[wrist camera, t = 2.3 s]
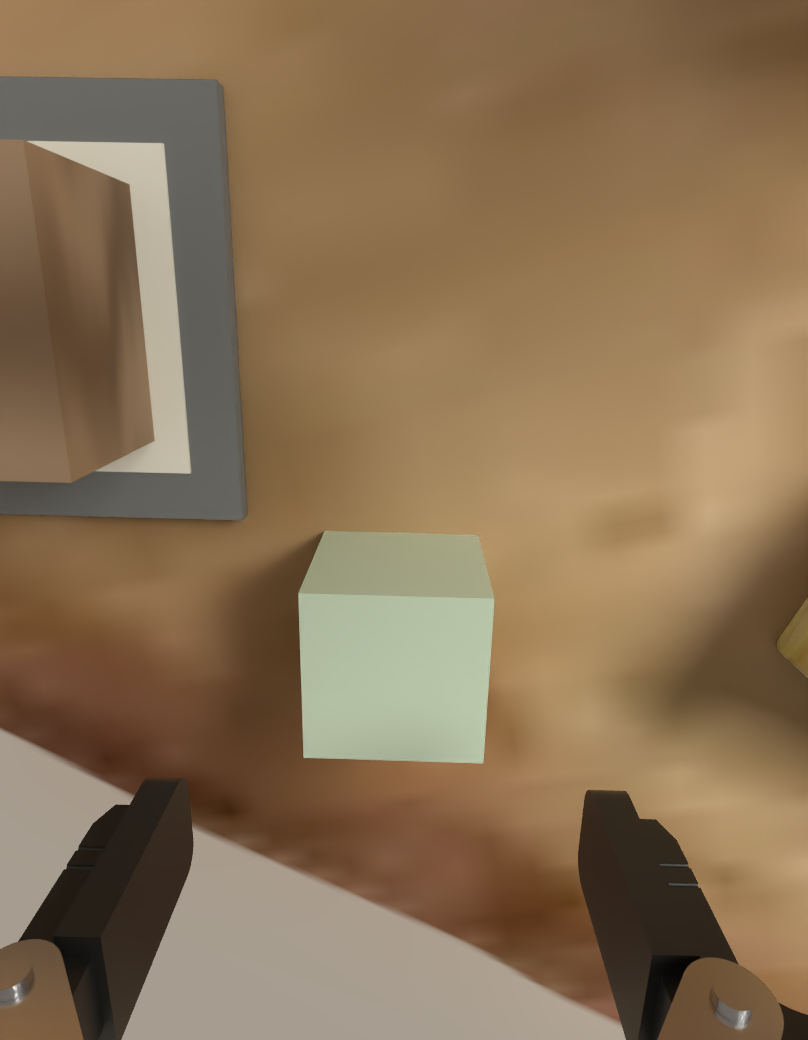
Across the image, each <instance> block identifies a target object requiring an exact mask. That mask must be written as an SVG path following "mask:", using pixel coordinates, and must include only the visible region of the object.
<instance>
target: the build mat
mask: <svg viewBox="0 0 808 1040" xmlns="http://www.w3.org/2000/svg"><path fill="white" fill-rule="evenodd" d="M0 139H5V140H25V141H27V142H30V143H32V144H35V145H37V146H39V147H42V148H44V149H46V150H49V151H51V152H54V153H56V154H58V155H61V156H63V157H65V158H68V159H70V160H73V161H75V162H77V163H80V164H82V165H85V166H87V167H89V168H92V169H94V170H96V171H99V172H101V173H104V174H106V175H108V176H111V177H113V178H116V179H118V180H120V181H123V182H125V183H127V184H129V185H130V195H131V205H132V215H133V225H134V236H135V246H136V256H137V266H138V276H139V286H140V297H141V307H142V317H143V327H144V337H145V347H146V358H147V368H148V378H149V388H150V398H151V408H152V419H153V429H154V439H155V441H153V442H151V443H149V444H147V445H145V446H143V447H141V448H139V449H137V450H135V451H133V452H131V453H129V454H127V455H125V456H124V457H122V458H120V459H118V460H116V461H114V462H112V463H110V464H108V465H106V466H104V467H102V468H100V469H98V470H96V471H94V472H92V473H90V474H88V475H86V476H84V477H82V478H80V479H78V480H76V481H74V482H72V483H60V482H20V481H0V514H17V515H55V516H93V517H132V518H170V519H208V520H243V519H244V518H245V517H246V515H247V503H246V485H245V468H244V450H243V432H242V415H241V397H240V379H239V361H238V344H237V326H236V308H235V290H234V273H233V255H232V237H231V220H230V202H229V184H228V166H227V149H226V131H225V113H224V95H223V86H222V85H221V84H220V83H219V82H218V81H217V80H201V79H136V78H70V77H5V76H0Z"/></svg>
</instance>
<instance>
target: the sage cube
mask: <svg viewBox="0 0 808 1040" xmlns="http://www.w3.org/2000/svg"><path fill="white" fill-rule="evenodd" d="M298 600H299V631H300V662H301V693H302V723H303V754H304V758H329V759H361V760H393V761H425V762H457V763H483V760H484V745H485V730H486V716H487V701H488V686H489V672H490V657H491V642H492V628H493V613H494V595H493V591H492V587H491V583H490V579H489V575H488V571H487V568H486V564H485V560H484V556H483V552H482V548H481V544H480V540H479V536H478V535H466V534H428V533H390V532H352V531H324V534H323V536H322V538H321V541H320V543H319V545H318V548H317V550H316V552H315V555H314V557H313V560H312V562H311V564H310V567H309V569H308V571H307V574H306V576H305V579H304V581H303V583H302V586H301V588H300V590H299V593H298Z"/></svg>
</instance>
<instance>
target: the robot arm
mask: <svg viewBox="0 0 808 1040" xmlns="http://www.w3.org/2000/svg"><path fill="white" fill-rule="evenodd" d="M192 855H193V832H192V822H191V811H190V801H189V790H188V784H187V781H186V780H185V779H172V778H147V779H145V780H144V782H143V783H142V785H141V786H140V788H139V790H138V792H137V793H136V795H135V797H134V798H133V800H132V802H131V804H130V805H115V806H114V807H112V808H111V809H110V810H109V811H108V812H106V813H105V814H104V815H103V816H102V817H100V818H99V819H98V820H97V821H96V822H94V823H93V825H92V826H91V828H90V829H89V831H88V832H87V834H86V835H85V837H84V839H83V840H82V842H81V843H80V845H79V849H78V851H75V853H74V855H73V856H72V858H71V859H70V861H69V862H68V864H67V868H66V870H63V872H62V874H61V875H60V877H59V878H58V880H57V881H56V883H55V885H54V886H53V888H52V889H51V891H50V892H49V894H48V896H47V897H46V899H45V900H44V902H43V903H42V905H41V907H40V908H39V910H38V911H37V913H36V914H35V916H34V918H33V919H32V921H31V922H30V924H29V925H28V927H27V929H26V930H25V932H24V933H23V935H22V937H21V938H20V940H19V941H18V942H16V943H13V944H11V945H8V946H6V947H4V948H2V949H0V1040H121V1039H122V1036H123V1034H124V1031H125V1029H126V1026H127V1024H128V1021H129V1019H130V1016H131V1014H132V1011H133V1009H134V1007H135V1004H136V1002H137V999H138V997H139V994H140V992H141V989H142V987H143V984H144V982H145V979H146V977H147V974H148V972H149V970H150V967H151V965H152V962H153V959H154V957H155V955H156V952H157V950H158V947H159V945H160V942H161V940H162V937H163V935H164V933H165V930H166V928H167V925H168V923H169V920H170V918H171V915H172V913H173V910H174V908H175V905H176V903H177V901H178V898H179V895H180V893H181V891H182V888H183V886H184V883H185V881H186V878H187V876H188V873H189V870H190V866H191V861H192ZM578 867H579V876H580V882H581V886H582V890H583V893H584V897H585V900H586V904H587V907H588V911H589V914H590V917H591V921H592V924H593V928H594V931H595V935H596V938H597V941H598V945H599V948H600V952H601V955H602V959H603V962H604V966H605V969H606V972H607V976H608V979H609V983H610V986H611V990H612V993H613V996H614V1000H615V1003H616V1007H617V1010H618V1014H619V1017H620V1020H621V1024H622V1027H623V1031H624V1034H625V1038H626V1040H808V1015H806V1014H803V1013H800V1012H797V1011H795V1010H792V1009H790V1008H788V1007H786V1006H784V1005H782V1004H780V1003H778V1001H777V999H776V998H775V996H774V995H773V993H772V992H771V990H770V989H769V988H768V987H767V986H766V984H765V983H763V982H762V981H761V980H760V979H759V978H758V977H757V976H756V975H754V974H753V973H752V972H750V971H749V970H747V969H746V968H744V967H742V966H740V965H739V964H738V962H737V960H736V958H735V956H734V954H733V952H732V950H731V948H730V946H729V944H728V942H727V940H726V938H725V936H724V934H723V932H722V930H721V928H720V926H719V924H718V922H717V920H716V918H715V916H714V914H713V912H712V910H711V908H710V906H709V904H708V902H707V900H706V898H705V896H704V894H703V892H702V890H701V888H699V887H698V882H697V880H696V878H695V876H694V874H693V872H692V870H691V868H689V867H688V862H687V860H686V858H685V856H684V854H683V852H682V850H681V848H680V846H679V844H678V842H677V840H676V839H675V838H674V837H673V836H672V835H671V834H670V833H669V832H668V831H667V830H666V829H665V828H664V827H663V826H662V825H661V824H660V823H659V822H658V821H657V820H652V819H639V817H638V815H637V812H636V810H635V808H634V806H633V803H632V801H631V799H630V797H629V795H628V793H627V792H626V791H606V790H588V791H587V792H586V794H585V800H584V808H583V816H582V825H581V833H580V842H579V851H578Z"/></svg>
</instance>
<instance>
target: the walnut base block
mask: <svg viewBox="0 0 808 1040" xmlns="http://www.w3.org/2000/svg"><path fill="white" fill-rule="evenodd" d="M153 441H155V439H154V429H153V419H152V408H151V398H150V388H149V378H148V368H147V358H146V347H145V337H144V327H143V317H142V307H141V297H140V286H139V276H138V266H137V256H136V246H135V236H134V225H133V215H132V205H131V195H130V185H129V184H127V183H125V182H123V181H120V180H118V179H116V178H113V177H111V176H108V175H106V174H104V173H101V172H99V171H96V170H94V169H92V168H89V167H87V166H85V165H82V164H80V163H77V162H75V161H73V160H70V159H68V158H65V157H63V156H61V155H58V154H56V153H54V152H51V151H49V150H46V149H44V148H42V147H39V146H37V145H35V144H32V143H30V142H27V141H25V140H5V139H0V481H20V482H60V483H72V482H74V481H76V480H78V479H80V478H82V477H84V476H86V475H88V474H90V473H92V472H94V471H96V470H98V469H100V468H102V467H104V466H106V465H108V464H110V463H112V462H114V461H116V460H118V459H120V458H122V457H124V456H125V455H127V454H129V453H131V452H133V451H135V450H137V449H139V448H141V447H143V446H145V445H147V444H149V443H151V442H153Z"/></svg>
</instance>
